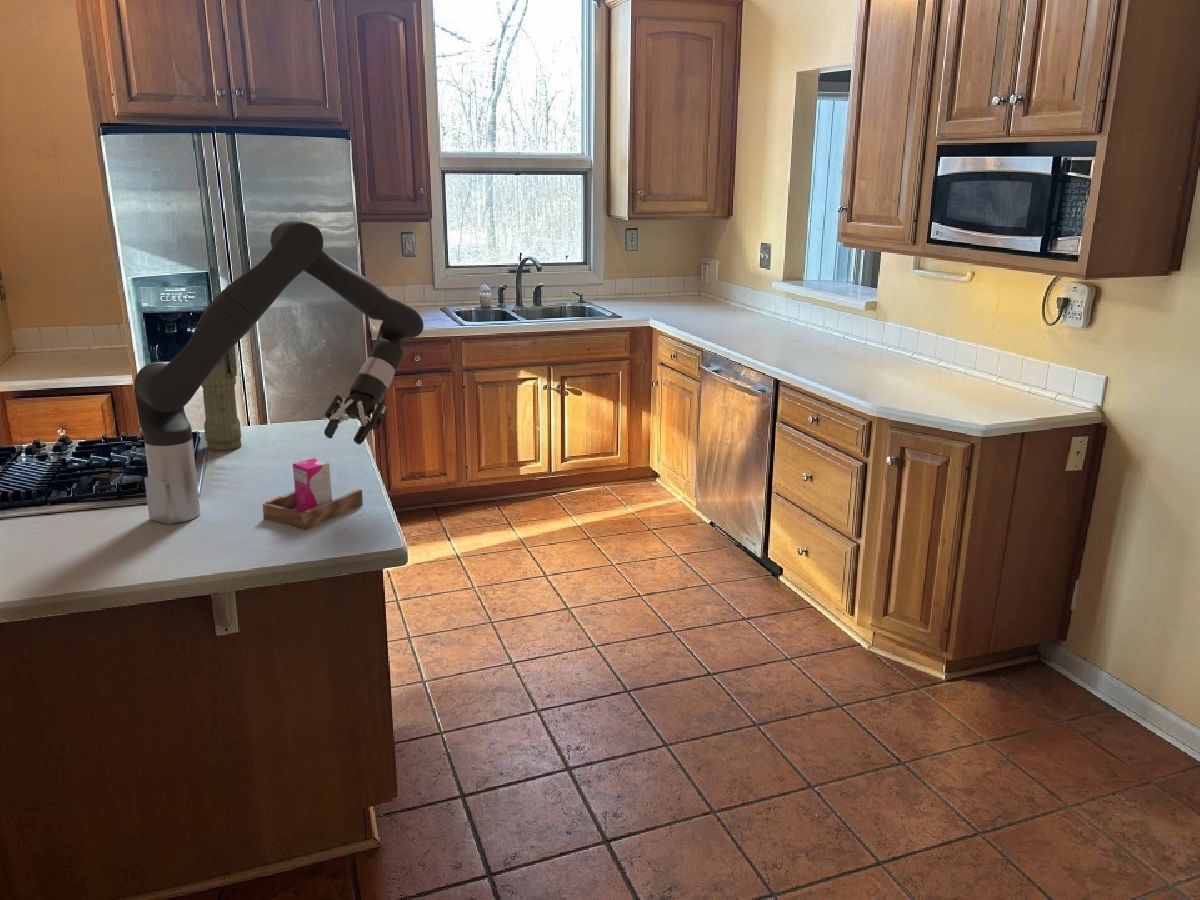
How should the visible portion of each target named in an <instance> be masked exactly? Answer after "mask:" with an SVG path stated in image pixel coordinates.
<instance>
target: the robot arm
mask: <svg viewBox="0 0 1200 900" xmlns="http://www.w3.org/2000/svg"><path fill="white" fill-rule="evenodd" d="M323 236H324V235H323V234H322V231H321V230H320V229H319V228H318V226H317V225H315V224H314V223H311V222H309V221H306V220H305V221H303V220H289V221H284V222H282V223H279V224H278V225H276V226H275V227H274V228H273V229H272V231H271V234H270V240H269V241H270V245H271V250H270V251H269V252H268V253H267V255H265V257H263V258H262V259H261V260H260V261H259V263H257V264H256V265H254V266H253V267H252V268H250V269H248V271H246V272H244V273H242V274H241V275H240V276H238V277H237V278H236V279H235V280H233V281H232V282H231V283H229V284H228V285H227V286H226V287H225V288H223V289H222V290H221V292H219V293H218V295H216V297H215V298H214V299H213V300H212V301H211V302H210V303H209V304H208V306H207V307H206V308H205V310H204V311H203V312H202V314H201V316H200V318H199V320H198V322H197V324H196V326H195V328H194V331H193V332H192V334H191V337H190V339H189V340H188V342H187V343H186V345H184V347H183V348H182V349H181V351H179V353H177V354H176V355H175V357H173V358H172V359H171V360H170V361H169V362H168V363H163V362H151V363H149V364H145V365H144V366H143V367H141V368H140V369H139V371H137V373H136V376H135V379H134V385H133V388H134V389H133V392H134V398H135V406H136V413H137V416H138V417H137V419H138V424H139V427H140V429H141V432H142V434H143V435H142V436H143V441H144V448H145V450H144V451H145V457H146V467H147V475H148V476H145V477H144V485H145V486H144V487H145V493H146V494H145V495H146V502H147V503H146V505H147V511H148V518H149V520H152V521H155V522H159V523H162V524H165V525H171V524H177V523H184V522H188V521H190V520H194V519H195V518H197V517H198V516H200V514H201V507H200V506H201V505H200V499H199V488H198V479H197V471H196V470H197V468H196V459H195V449H194V439H193V430H192V426H191V423H190V422H189V419H188V418H187V415H186V412H185V406H186V405H188V403H189V402H190V401H191V400H192V399H193V397H194V396H195V395H196V393H197V391H198V390H199V389H200V387H202V386H201V384H202V383H203V382H204V380H205V379H206V378H207V376H208V375H209V374H210V372H211V371H212V370H213V369H214V367H215V366H216V365H217V364H218V363H219V362H220V361H221V360H222V359H223V358H224V357H225V356H226V354H227V353H228V352H229V351H230V350H231V349H232V348H233V347H234V346H235V347H236V345H237V344H238V342H240V340H241V339H243V338H244V337H245V335H247V333H248V332H249V331H250V330H251V329H252V328H253V326H254V325H255V324H256V323H257V322H258V321H259V319H261V317H262V316H263V315H264V314H265V313H266V312H267V310H268V309H269V308H270V307H271V306H272V304H273V303H274V302H275V301H276V300H277V299H278V297H279V296H280V295H281V293H282V292H283V291H284V290H285V289H286V288H287V286H289V285H290V283H292V281H294V280H295V279H296V278H297V277H298V276H299V275H300V274H301V273H303V272H305V273H306V274H309V275H310V276H312V277H313V278H315V279H317V280H318V281H319V282H321V283H323V284H324V285H325V286H327V287H328V288H330V289H331V290H332V291H333V292H335V293H336V294H337V295H338V296H340V297H341V298H343V299H344V300H345V301H347V303H349V304H350V305H352V306H353V307H355V309H357V310H358V311H359V312H361V313H362V314H363V315H365V316H366V317H367V318H369V319H372V320H375V321H382V322H381V324H380V326H379V330H378V332H377V337H376V342H375V345H374V346H373V348H372V350H371V352H370V353H369V355H368V357H367V359H366V360H365V362H364V363H363V365H362V366H361V368H360V370H359V372H358V373H357V376H356V377H355V379H354V381H353V383H352V385H351V386H350V388H349V395H348V396H347V397H346V398H343V397H341V395H339V394H338V395H335V397H334V398H333V400H332V402H331V404H330V405H329V407H328V408H327V410H326V412H325V413H324V416H325V417H326V418H327V419H328V420H329V421H328V423H327V425H326V427H325V428H324V433H323V434H324V436H325V437H326V438H328V439H332V438H333V437H334V435H335V434H336V433H335V432H336V431H337V429H338V427H339V425H340V424H341V423H343V422H344V421H345V422H346V421H348V420H350V419H352V420H358V421H361V426H359V427H358V429H357V431H356V433H355V435H354V437H353V442H354V443H356V444H357V445H362V443H363V442H364V441H365V440H366V437H367V436H368V434H369V432H371V431H373V430H374V431H378V430H379V429H380V427H381V426H382V423H383V421H384V420H385V416H386V414H387V412H388V408H387V407H386V406H385V405H384V404H383V403H382V400H383V399H384V397H385V395H386V393H387V391H388V390H389V387H390V385H391V384H392V381H393V378H394V376H395V374H396V372H397V369H398V368H399V366H400V364H401V362H402V360H403V357H404V351H403V348H402V347H401V345H402V343H403V342H404V341H406V340H411V339H415V338H417V337H419V336H420V335H421V334H422V332H423V330H424V320H423V318H422V317H421V315H420V313H419V312H418V311H416V309H414V308H413V307H412V306H410V305H408V304H407V303H404V302H403V301H401V300H399V299H397V298H394V296H391V295H388V294H387V293H386V292H384V290H382V289H381V288H380V287H378V285H376V284H375V283H374V282H372V281H371V280H370V279H369V278H367V277H365V276H364V275H362V274H360V273H359V272H358V271H355V270H354V269H352V268H350V267H349V266H346V265H345V264H343V263H342V262H340V261H339V260H337V259H336V258H334V257H332V255H330V254H329V253H327V252H326V251H325V250H324V249H323V248H324V237H323ZM344 412H345V413H344ZM371 415H372V416H371Z"/></svg>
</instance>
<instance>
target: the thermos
mask: <svg viewBox="0 0 1200 900" xmlns="http://www.w3.org/2000/svg"><path fill="white" fill-rule="evenodd" d="M237 368H238V365H237V354H236V345H235V346H234V347H233V348H232V349H231V350H230V351H229V352H228V353H227V354H226V356H225V357H224V358H223V359H222V360H221V361H220V362H219V363H218V364H217V365H216V366H215V367H214V369H213V370H212V371H211V372H210V374H209V375H208V376H207V378H206V379H205V380H204V382H203V383H202V384H201V386H200V387H201V388H202V395H203V396H202V398H203V405H204V415H205V420H204V424H203V425H204V426H203V428H204V438H205V441H206V449H207V448H208V449H207V451H209V452H216V453H225V452H232V451H236V450H239V449H241V448H242V439H241V438H242V429H241V421H240V419H239V417H238V408H237V407H238V406H237V396H236V388H235V387H236V385H237V376H238V374H237V373H238V369H237Z"/></svg>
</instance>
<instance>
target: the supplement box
mask: <svg viewBox="0 0 1200 900" xmlns="http://www.w3.org/2000/svg"><path fill="white" fill-rule="evenodd" d="M292 471H293V481H294V491H295V495H296V507H297V508H296V510H297V511H301V512H305V511H306V510H309V509H311V508H313V507H316V506H318V505H319V506H321V505H323V504H325V503H328V502H330V501H332V500H333V497H332V496H333V495H332V493H333V492H332V483H331V468H330V463H329V462H327V461H325V460H322V459H318V458H316V457H313V458H310V459H306V460H301V461H299V462H294V463H292Z"/></svg>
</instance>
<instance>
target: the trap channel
mask: <svg viewBox="0 0 1200 900" xmlns="http://www.w3.org/2000/svg"><path fill="white" fill-rule="evenodd" d="M363 500H364V499H363V489H360V488H358V489H355V490H354V491H353V490H352V491H351V492H349V493H346V494H344V495H342V496H340V497H338V498H334V499H332V501H330V502H328V503H325V504H323V505H321V506H319V505H318V506H316V507H313V508H311V509H309V510H306V511H305V512H301V511H297V507H296V495H295V490H294V491H292V492H290V493H287V494H284V495H282V496H281V495H279V496H276V497H273V498H271V499H268V500H266V501H265V502H264V503H263V504H262V515H263V520H265V521H269V522H272V523H276V522H277V524H280V523H281V525H284V524H285V525H284V526H288V525H289V527H291V526H292V528H295V527H296V529H299V528H300V530H303V529H304V530H303V531H308V530H310V529H312V528H315V527H316V525H317V526H319V525H321V524H323V523H325V522H327V521H330V520H331V518H332V519H334V518H336V517H338V516H340V515H343V514H344V512H345V513H347V512H349V511H351V510H353V509H355V507H356V508H358V507H360V506H362V505H364V503H363ZM361 504H362V505H361ZM359 505H360V506H359ZM357 506H358V507H357ZM352 508H353V509H352ZM350 509H351V510H350ZM348 510H349V511H348ZM346 511H347V512H346ZM342 513H343V514H342ZM333 517H334V518H333ZM329 519H330V520H329ZM320 523H321V524H320ZM318 524H319V525H318ZM311 527H312V528H311ZM309 528H310V529H309ZM307 529H308V530H307Z"/></svg>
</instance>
